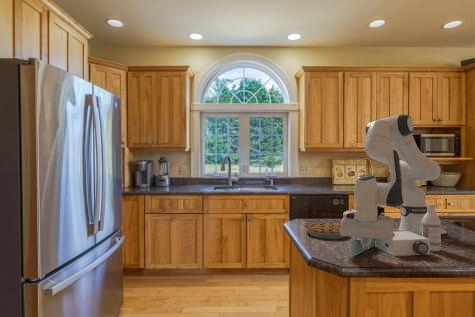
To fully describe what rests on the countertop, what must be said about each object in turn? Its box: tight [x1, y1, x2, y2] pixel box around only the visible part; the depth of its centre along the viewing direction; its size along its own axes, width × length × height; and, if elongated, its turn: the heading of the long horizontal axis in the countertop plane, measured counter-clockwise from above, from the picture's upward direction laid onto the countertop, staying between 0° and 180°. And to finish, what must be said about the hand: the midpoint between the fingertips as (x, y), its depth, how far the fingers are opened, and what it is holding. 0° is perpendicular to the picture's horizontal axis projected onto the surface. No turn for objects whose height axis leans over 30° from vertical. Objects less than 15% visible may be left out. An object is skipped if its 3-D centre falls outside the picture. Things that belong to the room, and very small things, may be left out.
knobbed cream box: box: [375, 231, 431, 257], centre depth 129 cm, size 16×16×7 cm
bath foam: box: [421, 203, 442, 252], centre depth 132 cm, size 7×7×20 cm
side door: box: [351, 237, 376, 257], centre depth 129 cm, size 2×21×7 cm, turn 134°
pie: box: [305, 222, 347, 240], centre depth 158 cm, size 22×22×5 cm
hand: (365, 248), depth 123 cm, fingers closed
